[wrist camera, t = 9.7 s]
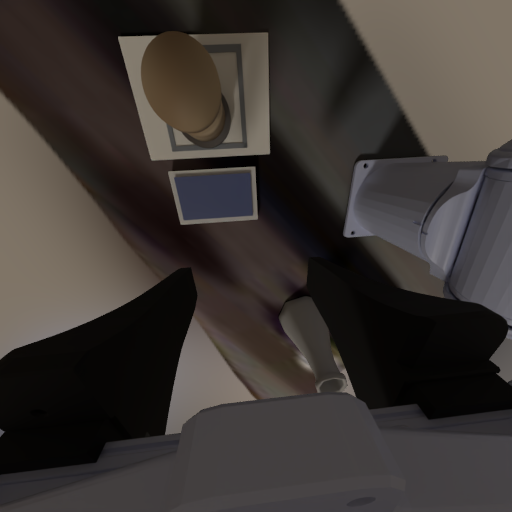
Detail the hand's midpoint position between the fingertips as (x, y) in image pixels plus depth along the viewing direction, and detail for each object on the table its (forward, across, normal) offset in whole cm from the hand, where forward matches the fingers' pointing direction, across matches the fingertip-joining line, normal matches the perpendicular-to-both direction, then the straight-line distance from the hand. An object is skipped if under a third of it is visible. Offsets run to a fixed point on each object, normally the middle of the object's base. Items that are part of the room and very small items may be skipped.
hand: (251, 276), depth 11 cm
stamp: (+10, +3, -10) cm, 14 cm away
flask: (+11, -7, +14) cm, 19 cm away
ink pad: (+10, +3, -4) cm, 11 cm away
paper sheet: (+10, +3, -11) cm, 15 cm away
